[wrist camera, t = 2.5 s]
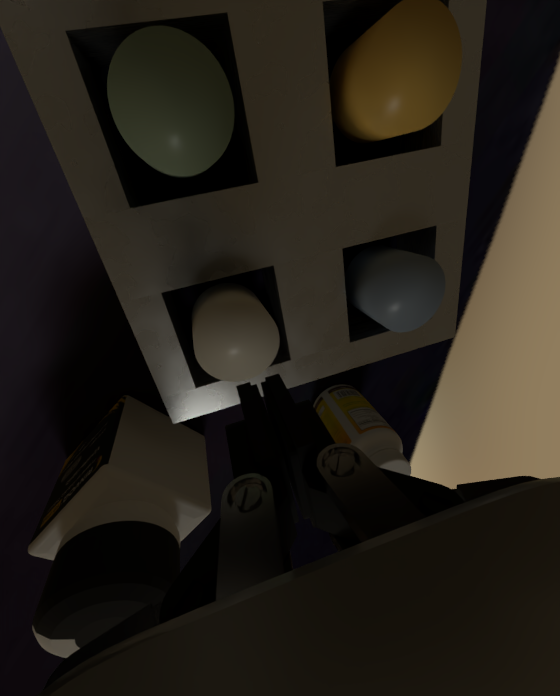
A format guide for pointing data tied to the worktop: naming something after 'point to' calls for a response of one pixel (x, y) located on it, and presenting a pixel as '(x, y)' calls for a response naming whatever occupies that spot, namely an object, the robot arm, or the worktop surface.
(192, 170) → the sage button
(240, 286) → the ivory button
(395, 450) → the supplement bottle
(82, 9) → the panel
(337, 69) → the amber rounded lump
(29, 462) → the worktop surface
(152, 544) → the medicine bottle
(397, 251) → the slate button
